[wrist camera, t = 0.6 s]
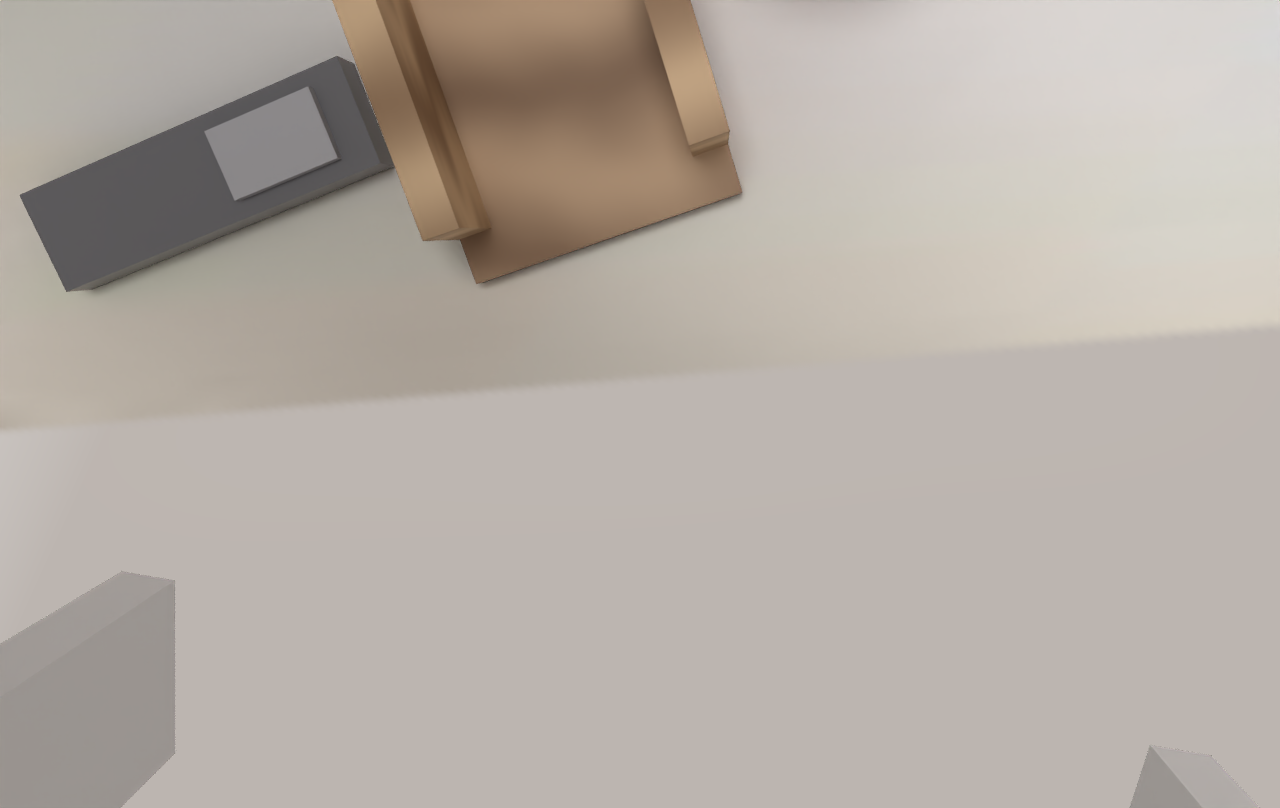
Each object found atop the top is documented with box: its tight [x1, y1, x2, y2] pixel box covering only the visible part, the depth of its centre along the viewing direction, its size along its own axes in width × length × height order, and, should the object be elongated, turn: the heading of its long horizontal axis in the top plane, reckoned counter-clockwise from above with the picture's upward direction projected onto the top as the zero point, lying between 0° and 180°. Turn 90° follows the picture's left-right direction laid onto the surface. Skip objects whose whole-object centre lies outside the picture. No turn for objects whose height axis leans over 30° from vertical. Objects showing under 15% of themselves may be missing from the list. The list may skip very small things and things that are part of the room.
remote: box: [20, 56, 394, 292], centre depth 35 cm, size 16×4×2 cm, turn 109°
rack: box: [332, 0, 742, 284], centre depth 31 cm, size 14×12×6 cm
